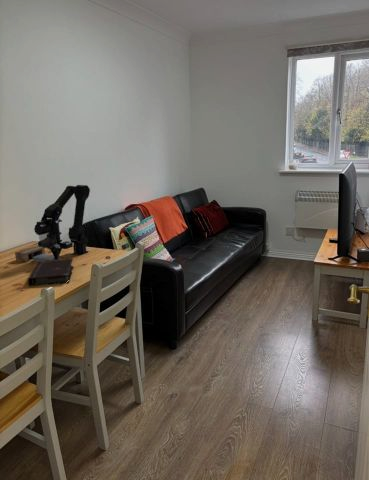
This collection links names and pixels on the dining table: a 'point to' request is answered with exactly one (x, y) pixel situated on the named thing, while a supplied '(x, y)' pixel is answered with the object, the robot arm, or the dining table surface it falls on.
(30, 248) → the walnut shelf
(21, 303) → the dining table surface
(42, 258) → the slate tile
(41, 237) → the white cup
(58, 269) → the diary
